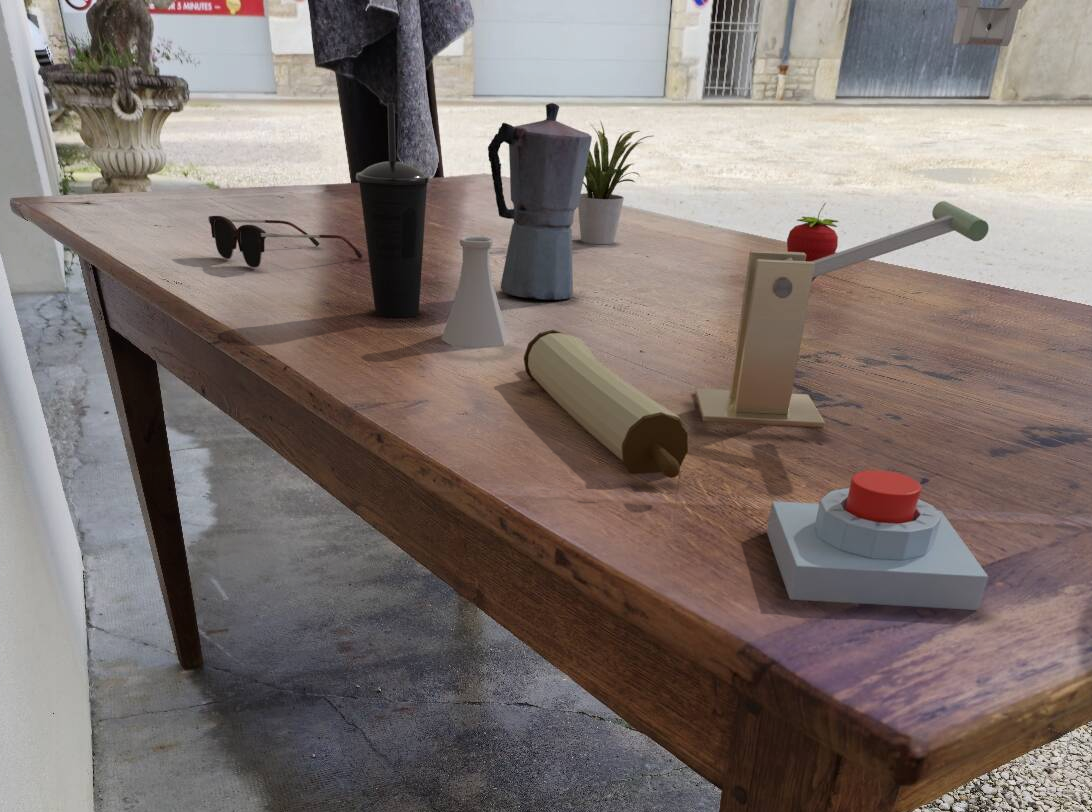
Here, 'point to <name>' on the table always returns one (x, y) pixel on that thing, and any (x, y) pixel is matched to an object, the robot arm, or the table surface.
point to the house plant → (603, 191)
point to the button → (883, 497)
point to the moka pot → (540, 203)
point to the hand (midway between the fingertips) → (980, 45)
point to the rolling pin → (607, 405)
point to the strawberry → (813, 238)
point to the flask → (475, 301)
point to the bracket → (767, 347)
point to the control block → (872, 557)
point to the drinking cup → (394, 230)
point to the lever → (907, 238)
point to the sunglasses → (253, 238)
